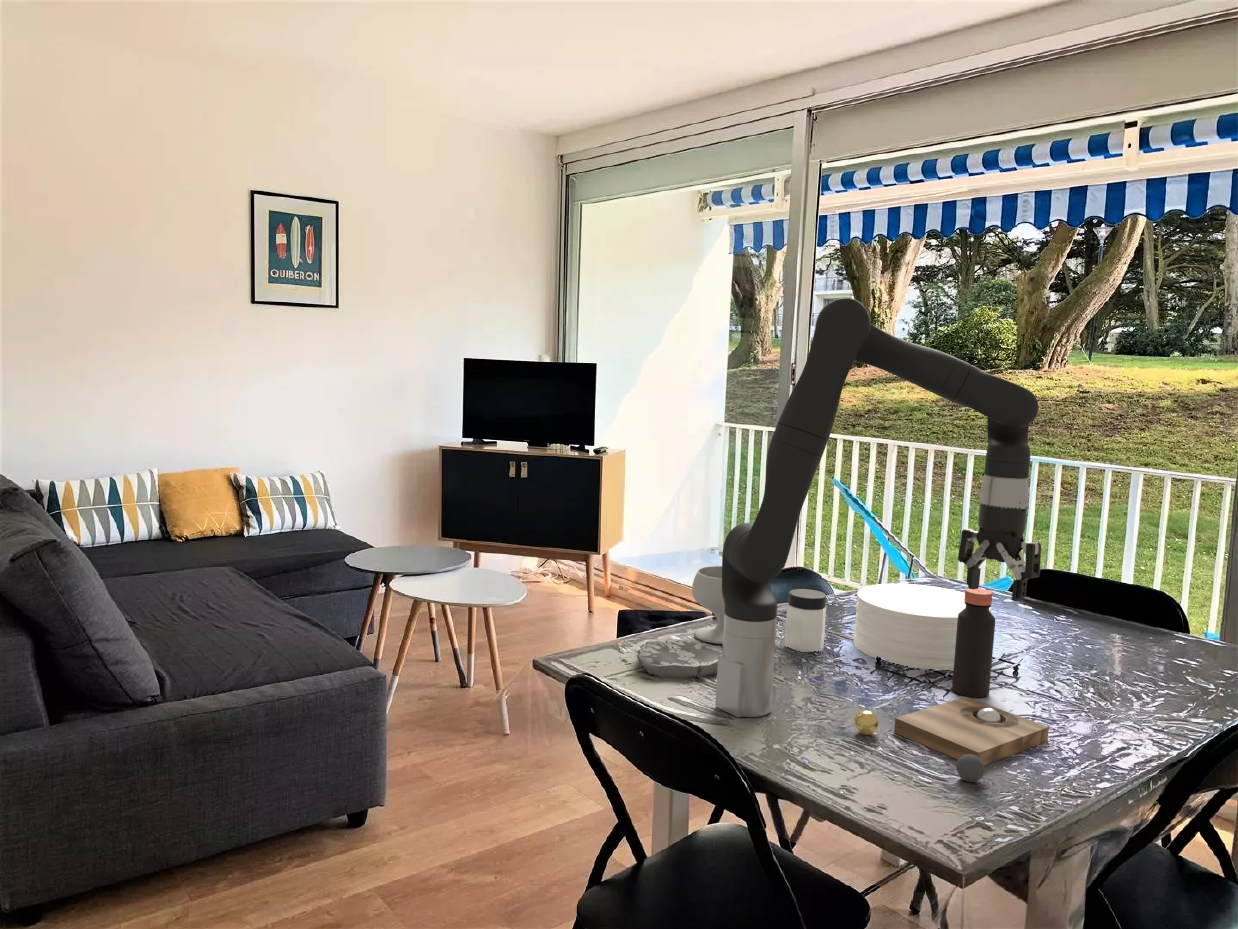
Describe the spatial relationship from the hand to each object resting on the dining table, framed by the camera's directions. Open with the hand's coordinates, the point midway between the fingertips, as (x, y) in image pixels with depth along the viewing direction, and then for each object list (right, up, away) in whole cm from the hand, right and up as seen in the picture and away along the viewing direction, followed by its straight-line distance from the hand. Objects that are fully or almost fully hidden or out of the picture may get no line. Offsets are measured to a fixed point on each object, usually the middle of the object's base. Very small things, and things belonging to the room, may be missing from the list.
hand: (994, 594), depth 160 cm
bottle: (+3, -22, +18) cm, 29 cm away
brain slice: (-53, -19, +28) cm, 63 cm away
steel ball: (-1, -22, 0) cm, 22 cm away
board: (-5, -24, -3) cm, 24 cm away
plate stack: (+1, -19, +44) cm, 48 cm away
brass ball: (-23, -21, -4) cm, 32 cm away
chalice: (-42, -17, +47) cm, 66 cm away
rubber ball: (-12, -24, -20) cm, 33 cm away
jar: (-25, -18, +43) cm, 53 cm away
